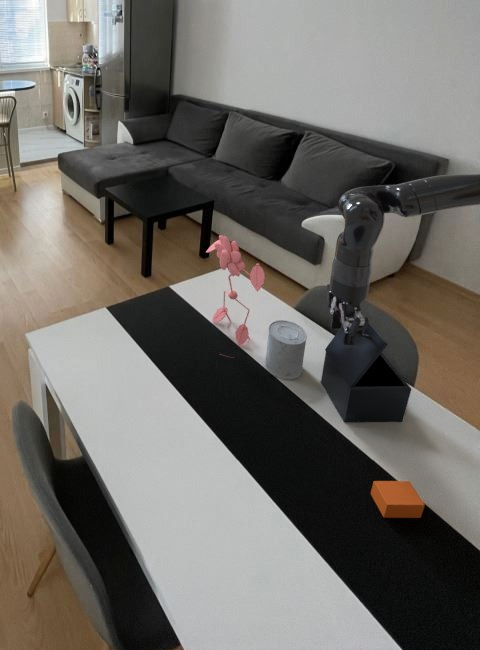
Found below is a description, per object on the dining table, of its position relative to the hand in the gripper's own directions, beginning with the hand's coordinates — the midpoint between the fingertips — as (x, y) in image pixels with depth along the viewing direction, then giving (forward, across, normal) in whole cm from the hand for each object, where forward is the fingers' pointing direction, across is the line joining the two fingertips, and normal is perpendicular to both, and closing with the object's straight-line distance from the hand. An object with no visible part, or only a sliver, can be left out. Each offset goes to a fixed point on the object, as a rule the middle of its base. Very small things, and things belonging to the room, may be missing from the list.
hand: (341, 335), depth 102 cm
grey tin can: (+21, +12, +8) cm, 26 cm away
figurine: (+21, +25, +22) cm, 39 cm away
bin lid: (+4, 0, -4) cm, 5 cm away
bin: (+22, 0, -7) cm, 23 cm away
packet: (+22, -25, 0) cm, 33 cm away
